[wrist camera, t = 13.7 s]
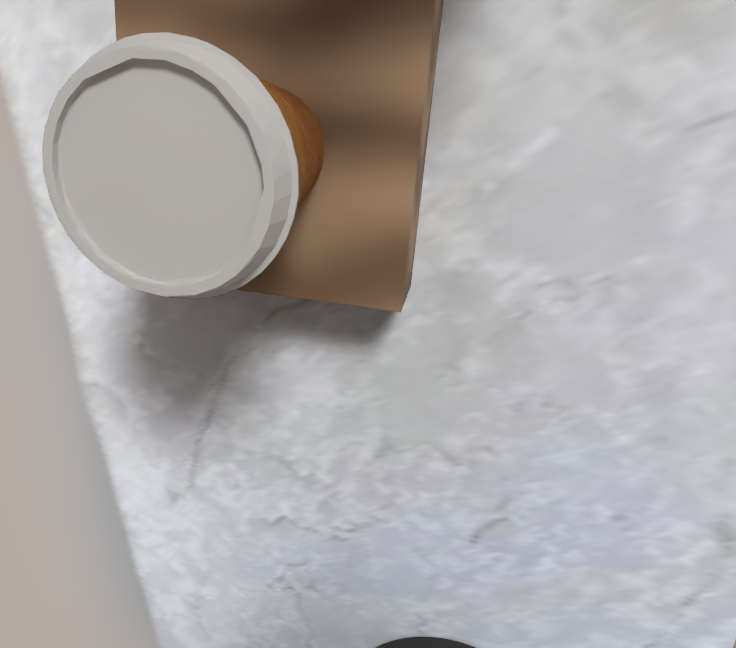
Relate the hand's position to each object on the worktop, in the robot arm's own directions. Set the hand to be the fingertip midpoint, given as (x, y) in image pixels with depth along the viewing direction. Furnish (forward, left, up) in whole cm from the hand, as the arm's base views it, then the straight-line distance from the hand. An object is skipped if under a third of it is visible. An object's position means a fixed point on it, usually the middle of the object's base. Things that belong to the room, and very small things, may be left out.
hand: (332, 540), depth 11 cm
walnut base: (+3, +9, -30) cm, 31 cm away
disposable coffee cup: (+3, +9, -25) cm, 27 cm away
